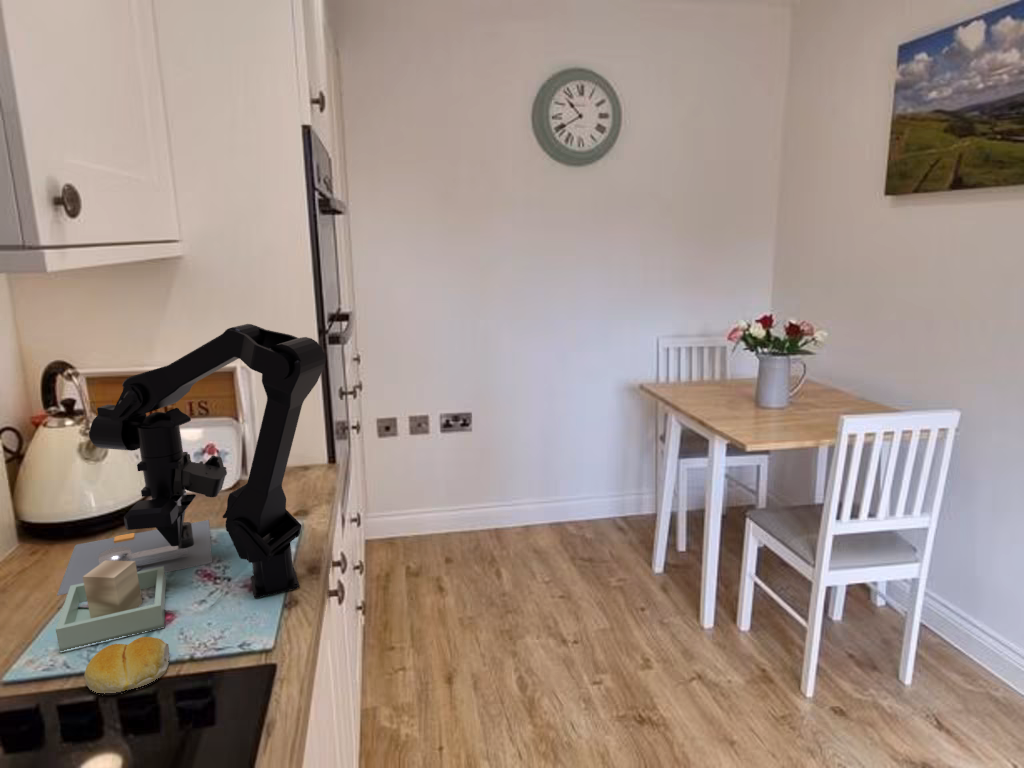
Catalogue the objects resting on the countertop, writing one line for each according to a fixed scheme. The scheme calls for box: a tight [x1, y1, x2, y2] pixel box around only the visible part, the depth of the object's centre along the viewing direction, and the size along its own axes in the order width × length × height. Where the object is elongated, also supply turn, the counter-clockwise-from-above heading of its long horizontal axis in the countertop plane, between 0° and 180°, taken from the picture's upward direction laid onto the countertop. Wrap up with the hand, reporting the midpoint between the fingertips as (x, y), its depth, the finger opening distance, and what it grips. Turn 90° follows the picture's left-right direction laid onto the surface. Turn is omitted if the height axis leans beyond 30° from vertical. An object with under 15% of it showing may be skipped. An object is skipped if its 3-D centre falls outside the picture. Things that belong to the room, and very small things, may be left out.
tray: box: [55, 566, 167, 652], centre depth 92 cm, size 12×12×4 cm
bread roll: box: [83, 636, 170, 694], centre depth 80 cm, size 8×9×4 cm
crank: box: [98, 521, 194, 567], centre depth 105 cm, size 13×4×5 cm, turn 116°
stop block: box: [83, 560, 143, 618], centre depth 92 cm, size 4×4×7 cm
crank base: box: [56, 519, 213, 597], centre depth 109 cm, size 18×21×1 cm
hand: (175, 545), depth 104 cm, fingers closed
